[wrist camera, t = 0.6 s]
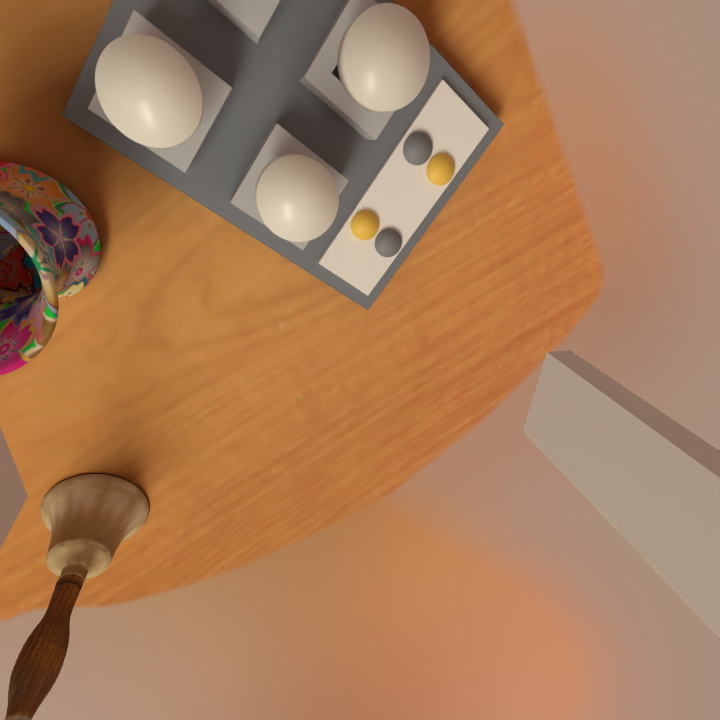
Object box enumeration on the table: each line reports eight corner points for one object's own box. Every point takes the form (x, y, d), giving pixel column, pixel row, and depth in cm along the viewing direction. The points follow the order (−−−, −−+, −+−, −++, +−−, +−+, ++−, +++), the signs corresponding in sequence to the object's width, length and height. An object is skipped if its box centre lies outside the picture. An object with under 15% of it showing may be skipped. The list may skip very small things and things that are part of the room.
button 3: (239, 200, 26) (240, 211, 23) (278, 134, 25) (286, 136, 22) (300, 241, 28) (309, 256, 25) (339, 181, 27) (354, 190, 24)
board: (70, 115, 25) (46, 114, 22) (207, -185, 21) (202, -240, 18) (363, 303, 35) (376, 321, 32) (493, 124, 31) (522, 124, 28)
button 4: (313, 76, 24) (326, 68, 21) (359, -2, 23) (381, -23, 20) (373, 129, 26) (393, 130, 23) (418, 60, 25) (446, 51, 22)
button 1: (100, 107, 23) (77, 104, 19) (139, 25, 21) (122, 7, 18) (182, 161, 25) (174, 167, 21) (221, 89, 24) (219, 83, 20)
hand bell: (57, 550, 39) (-36, 776, 26) (28, 480, 35) (-99, 703, 22) (156, 533, 41) (119, 735, 28) (139, 466, 37) (86, 662, 24)
